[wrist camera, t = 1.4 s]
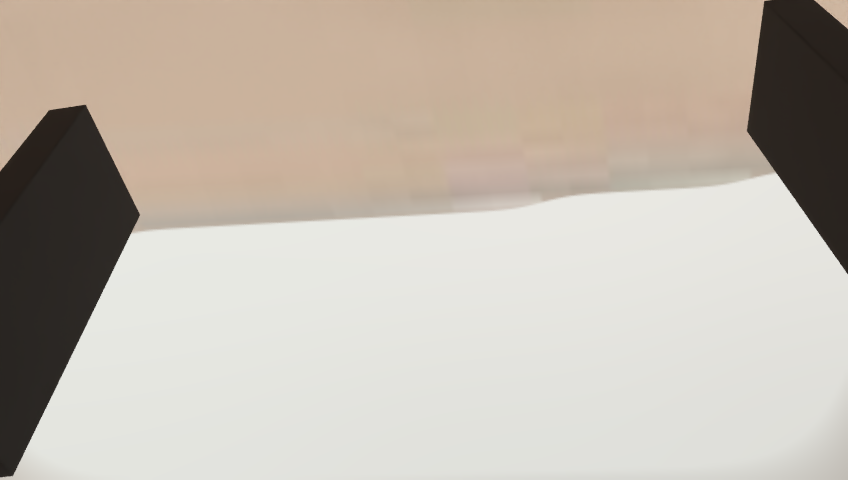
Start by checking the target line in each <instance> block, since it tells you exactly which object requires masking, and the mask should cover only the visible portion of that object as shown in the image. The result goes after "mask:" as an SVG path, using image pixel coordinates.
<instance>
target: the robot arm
mask: <svg viewBox="0 0 848 480" xmlns="http://www.w3.org/2000/svg"><path fill="white" fill-rule="evenodd" d="M747 132H748V133H749V135H750V136H751V137H752V139H753V140H754V142H755V143H756V145H757V146H758V147H759V149H760V150H761V152H762V153H763V154H764V156H765V157H766V159H767V160H768V162H769V163H770V164H771V166H772V167H773V169H774V170H775V171H776V173H777V174H778V176H779V177H780V179H781V180H782V181H783V183H784V184H785V186H786V187H787V188H788V190H789V191H790V193H791V194H792V196H793V197H794V198H795V199H796V201H797V203H798V204H799V206H800V207H801V208H802V210H803V211H804V212H805V214H806V215H807V217H808V218H809V220H810V221H811V222H812V224H813V225H814V227H815V228H816V230H817V231H818V232H819V234H820V235H821V237H822V238H823V240H824V241H825V242H826V244H827V245H828V247H829V248H830V250H831V251H832V252H833V254H834V255H835V257H836V258H837V259H838V261H839V262H840V264H841V265H842V266H843V268H844V269H845V271H846V272H847V274H848V29H847V28H846V27H845V26H844V25H842V24H841V23H840V22H839V21H838V20H837V19H835V18H834V17H833V16H832V15H831V14H830V13H828V12H827V11H826V10H825V9H824V8H823V7H821V6H820V5H819V4H818V3H817V2H816V1H814V0H769V1H764V8H763V15H762V23H761V30H760V38H759V45H758V53H757V60H756V68H755V75H754V83H753V90H752V98H751V105H750V113H749V120H748V128H747ZM139 216H140V214H139V212H138V210H137V208H136V206H135V204H134V202H133V200H132V198H131V196H130V194H129V192H128V190H127V188H126V186H125V184H124V182H123V180H122V178H121V176H120V173H119V171H118V169H117V167H116V165H115V163H114V161H113V159H112V157H111V155H110V153H109V151H108V149H107V147H106V145H105V143H104V141H103V139H102V137H101V135H100V133H99V131H98V129H97V127H96V125H95V123H94V121H93V119H92V117H91V115H90V113H89V111H88V109H87V107H86V105H81V106H74V107H68V108H61V109H55V110H49V111H48V112H47V114H46V115H45V116H44V117H43V119H42V120H41V121H40V122H39V124H38V125H37V126H36V127H35V129H34V130H33V131H32V133H31V134H30V135H29V136H28V138H27V139H26V140H25V141H24V143H23V144H22V145H21V146H20V148H19V149H18V150H17V151H16V153H15V154H14V155H13V156H12V158H11V159H10V160H9V161H8V163H7V164H6V165H5V166H4V168H3V169H2V170H1V171H0V477H6V476H13V474H14V472H15V470H16V468H17V466H18V464H19V462H20V460H21V458H22V456H23V454H24V452H25V450H26V448H27V445H28V444H29V442H30V440H31V437H32V435H33V433H34V431H35V429H36V427H37V425H38V423H39V421H40V419H41V417H42V415H43V413H44V411H45V409H46V407H47V405H48V403H49V401H50V398H51V396H52V394H53V392H54V390H55V388H56V386H57V384H58V382H59V380H60V378H61V376H62V374H63V372H64V370H65V368H66V365H67V364H68V362H69V359H70V357H71V355H72V353H73V351H74V349H75V347H76V345H77V343H78V341H79V339H80V337H81V335H82V333H83V331H84V329H85V327H86V325H87V322H88V320H89V318H90V316H91V314H92V312H93V310H94V308H95V306H96V304H97V302H98V300H99V298H100V296H101V294H102V292H103V289H104V288H105V285H106V283H107V282H108V279H109V277H110V275H111V273H112V271H113V269H114V267H115V265H116V263H117V261H118V259H119V257H120V255H121V253H122V251H123V249H124V246H125V244H126V243H127V240H128V238H129V236H130V234H131V232H132V230H133V228H134V226H135V224H136V222H137V220H138V218H139Z"/></svg>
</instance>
